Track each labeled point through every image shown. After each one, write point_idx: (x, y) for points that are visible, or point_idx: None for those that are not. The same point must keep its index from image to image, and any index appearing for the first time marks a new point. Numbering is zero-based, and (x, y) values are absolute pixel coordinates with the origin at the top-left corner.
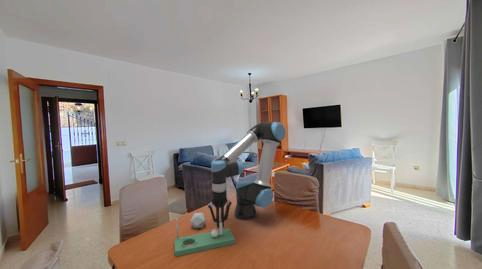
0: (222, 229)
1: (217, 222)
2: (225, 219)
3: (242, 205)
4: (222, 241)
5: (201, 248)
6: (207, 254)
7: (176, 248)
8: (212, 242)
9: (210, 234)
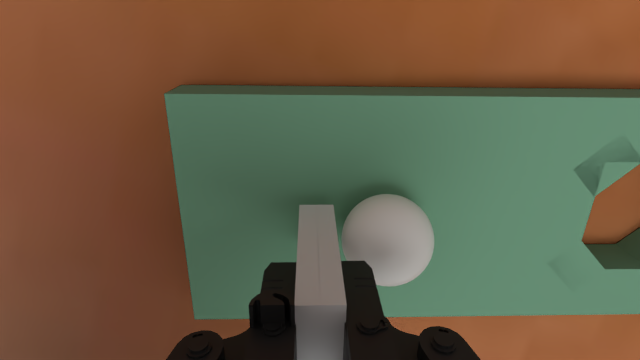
0: None
1: (382, 317)
2: (217, 343)
3: None
4: (322, 101)
5: (553, 92)
6: (503, 8)
7: None
8: (434, 124)
9: None
